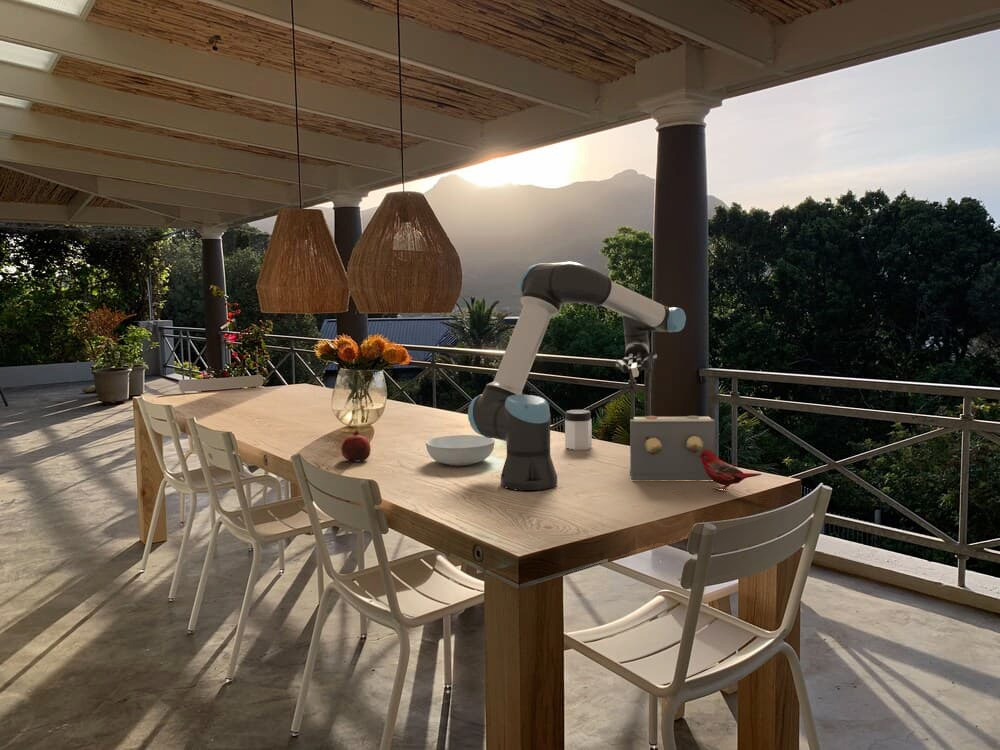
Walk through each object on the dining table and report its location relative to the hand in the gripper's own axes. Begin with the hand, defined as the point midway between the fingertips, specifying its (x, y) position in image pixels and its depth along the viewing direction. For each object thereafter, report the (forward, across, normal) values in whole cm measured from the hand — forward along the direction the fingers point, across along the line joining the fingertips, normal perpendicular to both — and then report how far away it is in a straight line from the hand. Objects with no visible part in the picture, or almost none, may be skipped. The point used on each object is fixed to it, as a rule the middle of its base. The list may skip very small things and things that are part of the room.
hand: (634, 372), depth 206 cm
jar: (-22, +26, -26) cm, 42 cm away
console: (+14, -4, -28) cm, 32 cm away
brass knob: (+15, -1, -19) cm, 24 cm away
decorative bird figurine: (+26, -17, -30) cm, 43 cm away
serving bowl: (+3, +57, -15) cm, 59 cm away
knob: (+12, -11, -22) cm, 27 cm away
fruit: (+5, +89, -7) cm, 90 cm away
